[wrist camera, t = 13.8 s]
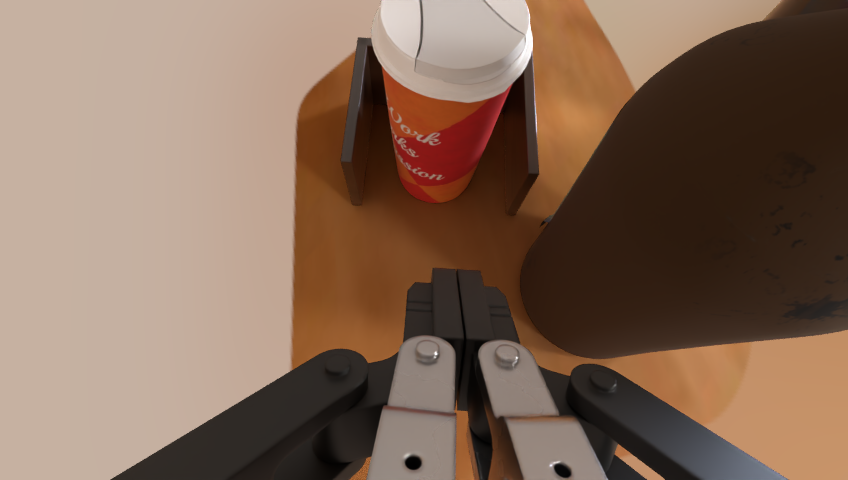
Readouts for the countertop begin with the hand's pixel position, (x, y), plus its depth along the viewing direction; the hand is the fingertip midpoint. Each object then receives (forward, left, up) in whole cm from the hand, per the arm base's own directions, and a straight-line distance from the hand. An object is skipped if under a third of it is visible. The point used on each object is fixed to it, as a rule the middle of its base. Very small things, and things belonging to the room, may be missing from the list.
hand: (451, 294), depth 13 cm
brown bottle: (-12, -2, -15) cm, 19 cm away
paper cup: (-3, -13, -15) cm, 20 cm away
